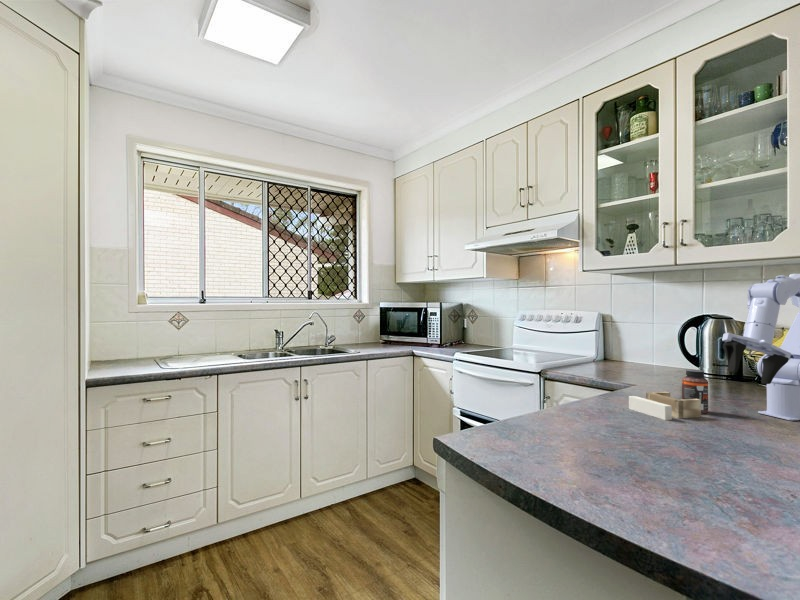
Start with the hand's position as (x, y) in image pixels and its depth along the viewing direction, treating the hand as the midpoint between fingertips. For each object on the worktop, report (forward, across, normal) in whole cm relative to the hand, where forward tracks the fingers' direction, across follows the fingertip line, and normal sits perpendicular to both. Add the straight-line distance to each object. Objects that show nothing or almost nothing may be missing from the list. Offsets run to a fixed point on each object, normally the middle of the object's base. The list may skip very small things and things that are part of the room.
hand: (749, 377), depth 101 cm
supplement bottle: (+10, -3, +14) cm, 17 cm away
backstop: (+16, -16, +9) cm, 24 cm away
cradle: (+13, -9, +11) cm, 20 cm away
